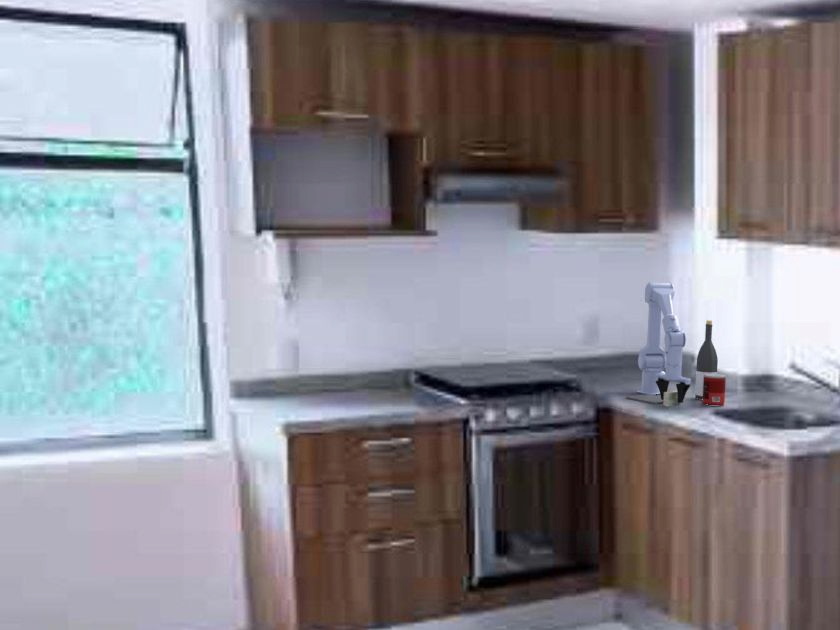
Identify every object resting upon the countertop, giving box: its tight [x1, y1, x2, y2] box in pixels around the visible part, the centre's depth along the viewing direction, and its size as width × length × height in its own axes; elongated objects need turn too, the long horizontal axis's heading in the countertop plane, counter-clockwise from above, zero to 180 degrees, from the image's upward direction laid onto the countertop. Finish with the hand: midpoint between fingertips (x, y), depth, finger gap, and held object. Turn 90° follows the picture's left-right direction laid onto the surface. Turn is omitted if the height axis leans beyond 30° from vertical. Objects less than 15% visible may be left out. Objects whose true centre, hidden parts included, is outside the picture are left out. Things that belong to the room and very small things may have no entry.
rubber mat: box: [625, 394, 664, 405], centre depth 382 cm, size 13×14×1 cm
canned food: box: [702, 373, 727, 406], centre depth 375 cm, size 8×8×11 cm
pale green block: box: [662, 390, 681, 407], centre depth 372 cm, size 7×2×5 cm, turn 127°
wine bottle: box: [694, 319, 719, 400], centre depth 386 cm, size 8×8×30 cm
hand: (672, 401), depth 372 cm, fingers open, 7 cm apart
